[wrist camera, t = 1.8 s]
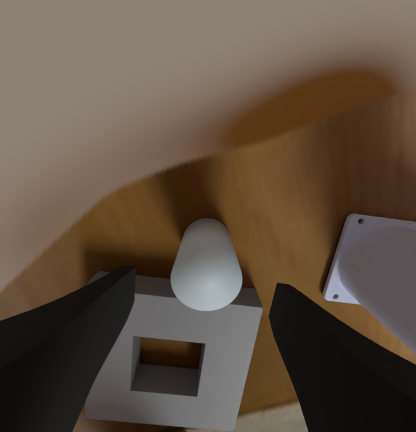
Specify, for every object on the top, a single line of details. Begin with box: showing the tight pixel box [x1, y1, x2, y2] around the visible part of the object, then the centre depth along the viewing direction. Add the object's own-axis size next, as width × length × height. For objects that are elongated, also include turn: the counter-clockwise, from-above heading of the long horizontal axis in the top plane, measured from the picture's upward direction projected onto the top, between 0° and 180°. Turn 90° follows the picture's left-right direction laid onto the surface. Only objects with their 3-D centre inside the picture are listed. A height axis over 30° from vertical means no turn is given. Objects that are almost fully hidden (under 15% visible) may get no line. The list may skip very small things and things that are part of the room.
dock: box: [83, 271, 263, 431], centre depth 18 cm, size 14×14×2 cm
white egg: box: [171, 218, 242, 311], centre depth 14 cm, size 4×4×6 cm
